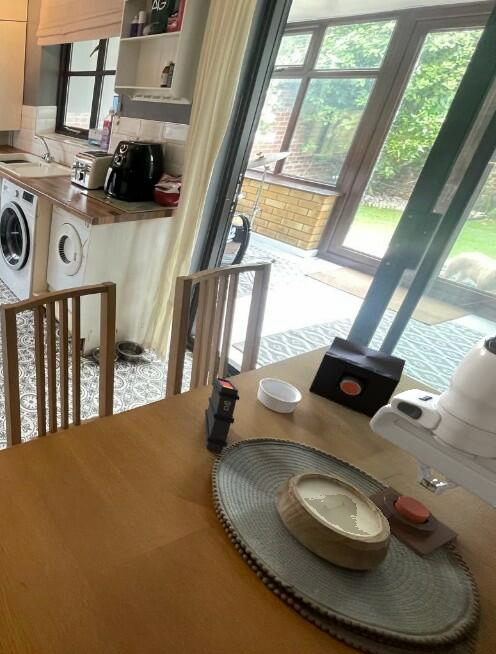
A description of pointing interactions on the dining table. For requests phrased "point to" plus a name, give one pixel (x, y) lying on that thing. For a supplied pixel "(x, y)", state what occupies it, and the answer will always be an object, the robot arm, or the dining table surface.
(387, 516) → the button block
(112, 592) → the dining table surface
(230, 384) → the black battery pack
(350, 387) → the push knob
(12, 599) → the dining table surface
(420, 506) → the button
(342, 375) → the console
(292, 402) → the ramekin
